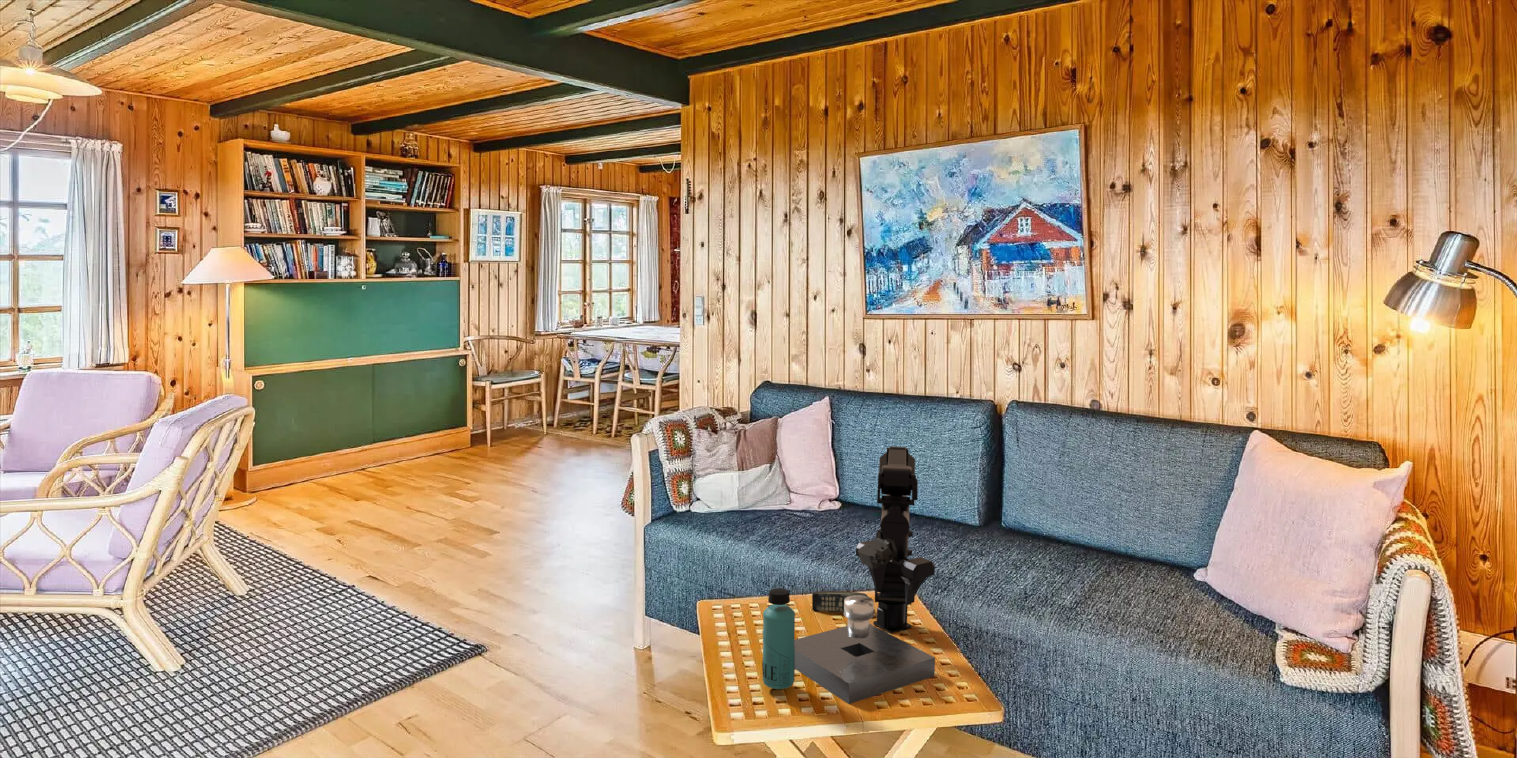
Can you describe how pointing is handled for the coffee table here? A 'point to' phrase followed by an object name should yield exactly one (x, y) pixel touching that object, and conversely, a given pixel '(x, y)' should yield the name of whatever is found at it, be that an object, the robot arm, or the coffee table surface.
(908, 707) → the coffee table surface
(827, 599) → the mobile phone
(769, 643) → the beverage bottle
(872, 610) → the end cover
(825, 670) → the bore block
